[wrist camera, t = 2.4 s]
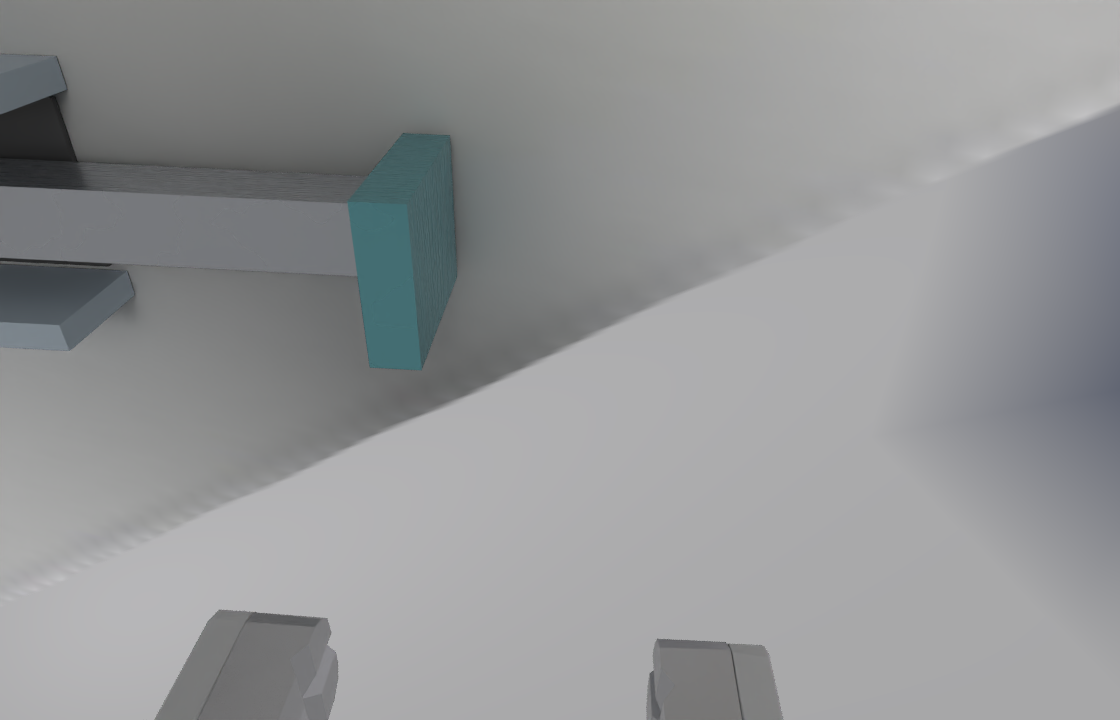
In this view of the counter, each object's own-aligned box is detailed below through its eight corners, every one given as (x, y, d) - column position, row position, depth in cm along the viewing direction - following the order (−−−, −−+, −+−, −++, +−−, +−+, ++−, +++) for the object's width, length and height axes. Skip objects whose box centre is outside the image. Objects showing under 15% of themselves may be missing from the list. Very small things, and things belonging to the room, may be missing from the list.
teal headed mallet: (-76, 248, 26) (-237, 333, 21) (-146, 107, 23) (-350, 166, 18) (456, 276, 26) (421, 370, 21) (449, 135, 23) (406, 204, 18)
